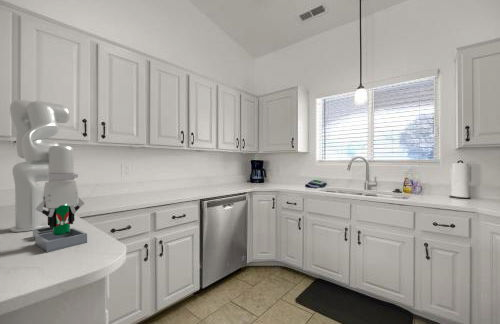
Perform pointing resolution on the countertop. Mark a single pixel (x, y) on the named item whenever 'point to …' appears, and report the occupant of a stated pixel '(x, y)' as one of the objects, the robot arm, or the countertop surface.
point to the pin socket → (42, 231)
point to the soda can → (62, 220)
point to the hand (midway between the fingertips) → (61, 224)
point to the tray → (60, 240)
